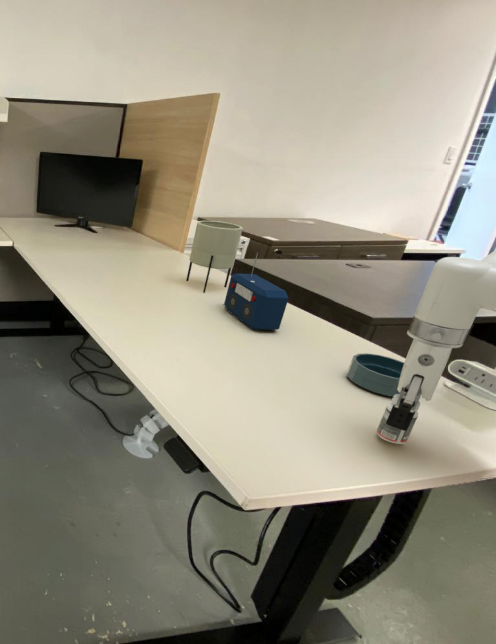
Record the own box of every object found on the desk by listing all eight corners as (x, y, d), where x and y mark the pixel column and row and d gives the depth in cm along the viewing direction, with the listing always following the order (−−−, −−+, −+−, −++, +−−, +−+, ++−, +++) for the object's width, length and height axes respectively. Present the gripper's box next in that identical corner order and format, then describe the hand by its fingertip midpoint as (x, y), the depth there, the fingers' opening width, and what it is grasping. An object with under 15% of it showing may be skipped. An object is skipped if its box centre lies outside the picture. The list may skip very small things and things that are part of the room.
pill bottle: (397, 431, 90) (414, 394, 87) (411, 446, 86) (429, 407, 82) (371, 428, 91) (386, 391, 87) (383, 442, 86) (400, 404, 83)
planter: (236, 293, 168) (253, 229, 159) (195, 293, 166) (210, 228, 156) (215, 281, 182) (230, 221, 172) (177, 280, 179) (190, 219, 170)
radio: (219, 307, 153) (234, 247, 145) (244, 307, 154) (260, 248, 146) (252, 332, 135) (271, 265, 126) (280, 333, 136) (301, 266, 127)
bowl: (427, 397, 105) (436, 378, 103) (380, 401, 102) (389, 381, 100) (376, 370, 117) (384, 352, 115) (333, 372, 114) (340, 354, 112)
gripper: (464, 352, 71) (418, 450, 79) (466, 324, 83) (426, 411, 90) (404, 338, 76) (366, 431, 83) (414, 313, 87) (380, 397, 95)
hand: (398, 420), depth 87 cm, fingers closed on pill bottle, 4 cm apart
